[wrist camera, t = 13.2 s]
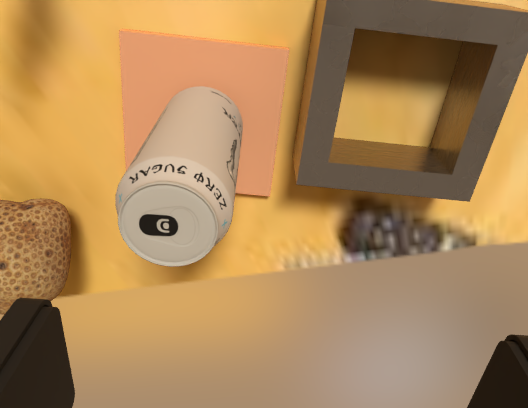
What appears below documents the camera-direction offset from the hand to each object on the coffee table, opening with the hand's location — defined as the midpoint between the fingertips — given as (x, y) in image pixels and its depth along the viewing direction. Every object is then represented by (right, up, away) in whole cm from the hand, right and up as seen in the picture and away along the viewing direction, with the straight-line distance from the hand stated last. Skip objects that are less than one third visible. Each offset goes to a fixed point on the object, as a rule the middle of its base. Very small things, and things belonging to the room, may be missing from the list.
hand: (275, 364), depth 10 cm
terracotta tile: (-5, +10, +26) cm, 28 cm away
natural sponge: (-20, +2, +31) cm, 37 cm away
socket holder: (+9, +12, +24) cm, 29 cm away
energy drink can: (-5, +10, +25) cm, 27 cm away
